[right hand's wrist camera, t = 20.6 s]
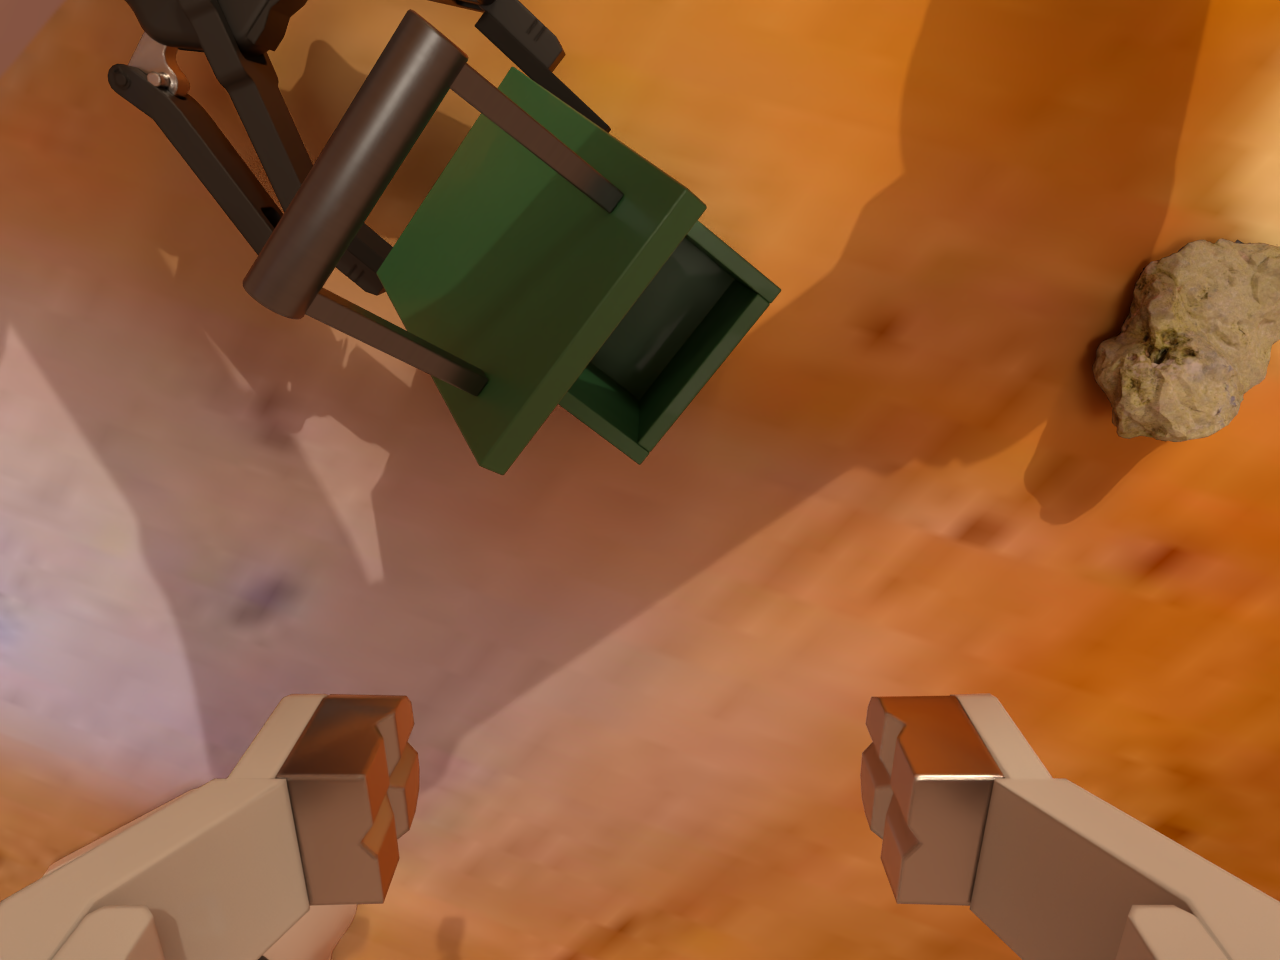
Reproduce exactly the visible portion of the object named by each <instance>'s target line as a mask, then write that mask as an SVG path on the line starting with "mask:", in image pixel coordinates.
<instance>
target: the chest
mask: <svg viewBox="0 0 1280 960" xmlns="http://www.w3.org/2000/svg"><path fill="white" fill-rule="evenodd" d="M780 292H781V289H780V288H779V287H778V286H776V285H775V284H774V283H773V282H772V281H770V280H769V279H768V278H767V277H766V276H764V275H763V274H762V273H761V272H759V271H758V270H757V269H756V268H755V267H753V266H752V265H751V264H750V263H749V262H747V261H746V260H745V259H744V258H743V257H741V256H740V255H739V254H738V253H737V252H735V251H734V250H733V249H732V248H730V247H729V246H728V245H727V244H726V243H724V242H723V241H722V240H721V239H720V238H718V237H717V236H716V235H715V234H714V233H712V232H711V231H710V230H709V229H707V228H706V227H705V226H704V225H703V224H701V223H700V222H699V221H698V220H697V222H696V223H695V224H694V226H693V227H692V228H691V230H690V231H689V232H688V233H687V235H686V236H685V237H684V239H683V240H682V241H681V243H680V244H679V245H678V247H677V248H676V249H675V251H674V252H673V253H672V255H671V256H670V257H669V258H668V260H667V261H666V262H665V264H664V265H663V266H662V268H661V269H660V270H659V272H658V273H657V274H656V276H655V277H654V278H653V280H652V281H651V282H650V283H649V285H648V286H647V287H646V289H645V290H644V291H643V293H642V294H641V295H640V297H639V298H638V299H637V301H636V302H635V303H634V304H633V306H632V307H631V308H630V310H629V311H628V312H627V314H626V315H625V316H624V318H623V319H622V320H621V322H620V323H619V324H618V326H617V327H616V328H615V329H614V331H613V332H612V333H611V335H610V336H609V337H608V339H607V340H606V341H605V343H604V344H603V345H602V347H601V348H600V349H599V351H598V352H597V353H596V354H595V356H594V357H593V358H592V360H591V361H590V362H589V364H588V365H587V366H586V368H585V369H584V370H583V372H582V373H581V374H580V376H579V377H578V378H577V379H576V381H575V382H574V383H573V385H572V386H571V387H570V389H569V390H568V391H567V393H566V394H565V395H564V397H563V398H562V399H561V401H560V402H559V403H558V404H559V405H560V406H562V407H563V408H564V409H566V410H567V411H568V412H570V413H571V414H572V415H574V416H575V417H576V418H578V419H579V420H580V421H582V422H583V423H584V424H586V425H587V426H588V427H590V428H591V429H592V430H594V431H595V432H596V433H598V434H599V435H600V436H602V437H603V438H604V439H606V440H607V441H608V442H610V443H611V444H612V445H614V446H615V447H616V448H618V449H619V450H620V451H622V452H623V453H624V454H626V455H627V456H628V457H630V458H631V459H632V460H634V461H635V462H636V463H638V464H639V465H640V464H641V463H642V462H643V461H644V459H645V458H646V457H647V456H648V455H649V452H651V451H652V449H653V448H654V447H655V446H656V444H657V443H658V442H659V441H660V440H661V438H662V437H663V436H664V435H665V433H666V432H667V431H668V430H669V428H670V427H671V426H672V425H673V423H674V422H675V421H676V420H677V419H678V417H679V416H680V415H681V414H682V412H683V411H684V410H685V409H686V407H687V406H688V405H689V404H690V403H691V401H692V400H693V399H694V398H695V396H696V395H697V394H698V393H699V391H700V390H701V389H702V388H703V386H704V385H705V384H706V383H707V382H708V380H709V379H710V378H711V377H712V375H713V374H714V373H715V372H716V370H717V369H718V368H719V367H720V365H721V364H722V363H723V362H724V361H725V359H726V358H727V357H728V356H729V354H730V353H731V352H732V351H733V349H734V348H735V347H736V346H737V345H738V343H739V342H740V341H741V340H742V338H743V337H744V336H745V335H746V333H747V332H748V331H749V330H750V328H751V327H752V326H753V325H754V324H755V322H756V321H757V320H758V319H759V317H760V316H761V315H762V314H763V312H764V311H765V310H766V309H767V308H768V306H769V304H770V303H772V302H773V300H774V299H775V298H776V297H777V295H778V294H779V293H780Z"/></svg>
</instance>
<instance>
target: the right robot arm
mask: <svg viewBox="0 0 1280 960" xmlns="http://www.w3.org/2000/svg"><path fill="white" fill-rule="evenodd" d="M413 726H414V718H413V712H412V705H411V701H410V700H409V699H408V697H407V696H394V695H348V694H330V695H327V694H291V695H288V696H286V697H284V698H283V699H282V700H281V701H280V702H279V704H278V705H277V707H276V708H275V710H274V711H273V712H272V714H271V715H270V717H269V718H268V720H267V721H266V723H265V724H264V725H263V727H262V728H261V730H260V731H259V733H258V734H257V736H256V737H255V738H254V740H253V741H252V743H251V744H250V746H249V747H248V749H247V750H246V752H245V753H244V754H243V756H242V757H241V759H240V760H239V762H238V763H237V765H236V766H235V767H234V769H233V770H232V772H231V773H230V775H229V776H228V778H227V779H213V780H211V781H210V782H208V783H206V784H204V785H203V786H201V787H199V788H196V789H192V790H190V791H188V792H186V793H184V794H182V795H180V796H178V797H176V798H175V799H173V800H171V801H169V802H167V803H165V804H163V805H161V806H159V807H158V808H156V809H154V810H152V811H150V812H148V813H146V814H144V815H143V816H141V817H139V818H137V819H135V820H133V821H131V822H129V823H127V824H126V825H124V826H122V827H120V828H118V829H116V830H114V831H112V832H111V833H109V834H107V835H105V836H103V837H101V838H99V839H97V840H95V841H94V842H92V843H90V844H88V845H86V846H84V847H82V848H80V849H79V850H77V851H75V852H73V853H71V854H69V855H67V856H65V857H64V858H62V859H60V860H58V861H56V862H54V863H53V864H52V865H50V866H49V868H48V869H47V871H46V872H45V874H44V875H43V877H42V878H41V879H39V880H37V881H35V882H34V883H32V884H30V885H28V886H27V887H25V888H23V889H21V890H20V891H18V892H16V893H14V894H13V895H11V896H9V897H7V898H6V899H4V900H2V901H1V902H0V960H331V956H332V951H333V949H334V948H335V946H336V945H337V943H338V942H339V940H340V939H341V937H342V936H343V935H344V933H345V932H346V930H347V929H348V928H349V926H350V924H351V922H352V920H353V918H354V916H355V913H356V908H357V904H380V903H384V900H385V897H386V894H387V891H388V889H389V886H390V883H391V880H392V878H393V875H394V872H395V869H396V866H397V864H398V861H399V851H398V843H397V839H399V838H400V837H401V836H402V835H404V834H405V833H406V832H407V831H409V830H410V827H411V824H412V821H413V817H414V814H415V811H416V805H417V799H418V792H419V760H418V753H417V752H416V751H415V750H414V749H413V747H412V746H411V745H410V744H409V743H408V742H407V741H408V739H409V736H410V734H411V731H412V729H413ZM866 726H867V728H868V731H869V733H870V736H871V738H872V741H873V742H872V743H871V744H870V745H869V746H868V747H867V749H866V750H865V751H864V752H863V753H862V763H861V775H860V776H861V792H862V801H863V805H864V810H865V815H866V818H867V820H868V823H869V826H870V829H871V831H873V832H874V833H875V834H876V835H878V836H879V837H880V838H881V839H883V843H882V851H881V861H882V863H883V866H884V869H885V872H886V875H887V877H888V880H889V883H890V886H891V888H892V891H893V894H894V897H895V899H896V902H897V903H898V904H933V905H968V906H970V910H971V911H972V912H973V913H974V914H975V915H976V916H978V917H979V918H980V919H981V920H982V921H983V922H984V923H985V924H986V925H987V926H988V927H989V928H990V929H991V930H992V931H993V932H994V933H995V934H996V935H997V936H998V937H999V938H1001V939H1002V940H1003V941H1004V942H1005V943H1006V944H1007V945H1008V946H1009V947H1010V948H1011V949H1012V950H1013V951H1014V952H1015V953H1016V954H1017V955H1018V956H1019V957H1020V958H1021V959H1022V960H1280V902H1279V901H1277V900H1275V899H1274V898H1272V897H1270V896H1268V895H1267V894H1265V893H1263V892H1262V891H1260V890H1258V889H1256V888H1255V887H1253V886H1251V885H1249V884H1248V883H1246V882H1244V881H1242V880H1241V879H1239V878H1237V877H1235V876H1234V875H1232V874H1230V873H1229V872H1227V871H1225V870H1223V869H1222V868H1220V867H1218V866H1216V865H1215V864H1213V863H1211V862H1209V861H1208V860H1206V859H1204V858H1202V857H1201V856H1199V855H1197V854H1196V853H1194V852H1192V851H1190V850H1189V849H1187V848H1185V847H1183V846H1182V845H1180V844H1178V843H1176V842H1175V841H1173V840H1171V839H1169V838H1168V837H1166V836H1164V835H1163V834H1161V833H1159V832H1157V831H1156V830H1154V829H1152V828H1150V827H1149V826H1147V825H1145V824H1143V823H1142V822H1140V821H1138V820H1136V819H1135V818H1133V817H1131V816H1130V815H1128V814H1126V813H1124V812H1123V811H1121V810H1119V809H1117V808H1116V807H1114V806H1112V805H1110V804H1109V803H1107V802H1105V801H1103V800H1102V799H1100V798H1098V797H1097V796H1095V795H1093V794H1091V793H1090V792H1088V791H1086V790H1084V789H1083V788H1081V787H1079V786H1077V785H1076V784H1074V783H1072V782H1070V781H1069V780H1067V779H1053V778H1052V776H1051V775H1050V773H1049V772H1048V770H1047V769H1046V768H1045V766H1044V765H1043V763H1042V762H1041V760H1040V759H1039V757H1038V756H1037V755H1036V753H1035V752H1034V750H1033V749H1032V747H1031V746H1030V745H1029V743H1028V742H1027V740H1026V739H1025V737H1024V736H1023V735H1022V733H1021V732H1020V730H1019V729H1018V727H1017V726H1016V725H1015V723H1014V722H1013V720H1012V719H1011V717H1010V716H1009V714H1008V713H1007V712H1006V710H1005V709H1004V707H1003V706H1002V704H1001V703H1000V702H999V700H998V699H997V698H996V697H995V696H993V695H991V694H989V693H988V694H957V695H950V696H888V697H871V700H870V703H869V705H868V710H867V718H866Z"/></svg>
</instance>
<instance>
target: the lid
mask: <svg viewBox="0 0 1280 960" xmlns="http://www.w3.org/2000/svg"><path fill="white" fill-rule="evenodd" d="M467 61H468V56H467V55H466V54H465V53H464V52H463V51H462V50H461V49H460V48H459V47H457V46H456V45H455V44H454V43H453V42H451V41H450V40H449V39H448V38H447V37H445V36H444V35H443V34H442V33H441V32H439V31H438V30H437V29H436V28H435V27H433V26H432V25H431V24H430V23H428V22H427V21H426V20H425V19H424V18H422V17H421V16H420V15H419V14H417V13H416V12H415V11H413V10H411V9H410V10H408V11H407V13H406V15H405V16H404V18H403V20H402V21H401V23H400V24H399V26H398V28H397V29H396V31H395V33H394V34H393V36H392V38H391V39H390V41H389V42H388V44H387V46H386V47H385V49H384V51H383V52H382V54H381V56H380V57H379V59H378V60H377V62H376V64H375V65H374V67H373V69H372V70H371V72H370V74H369V75H368V77H367V78H366V80H365V82H364V83H363V85H362V87H361V88H360V90H359V92H358V93H357V95H356V96H355V98H354V100H353V101H352V103H351V105H350V106H349V108H348V110H347V111H346V113H345V115H344V116H343V118H342V119H341V121H340V123H339V124H338V126H337V128H336V129H335V131H334V133H333V134H332V136H331V137H330V139H329V141H328V142H327V144H326V146H325V147H324V149H323V151H322V152H321V154H320V155H319V157H318V159H317V160H316V162H315V164H314V165H313V167H312V169H311V170H310V172H309V173H308V175H307V177H306V178H305V180H304V182H303V183H302V185H301V187H300V188H299V190H298V191H297V193H296V195H295V196H294V198H293V200H292V201H291V203H290V205H289V206H288V208H287V209H286V211H285V213H284V214H283V216H282V218H281V219H280V221H279V223H278V224H277V226H276V227H275V229H274V231H273V232H272V234H271V236H270V237H269V239H268V241H267V242H266V244H265V246H264V247H263V249H262V250H261V252H260V254H259V255H258V257H257V259H256V260H255V262H254V264H253V265H252V267H251V268H250V270H249V272H248V273H247V275H246V277H245V278H244V280H243V287H244V289H245V290H246V291H247V293H248V294H249V295H250V296H251V297H253V298H254V299H255V300H256V301H257V302H259V303H260V304H261V305H263V306H265V307H266V308H268V309H269V310H271V311H273V312H275V313H277V314H280V315H282V316H285V317H288V318H291V319H301V318H302V317H304V315H305V314H306V315H308V316H310V317H312V318H314V319H316V320H318V321H321V322H323V323H325V324H327V325H329V326H331V327H333V328H335V329H337V330H339V331H341V332H343V333H345V334H347V335H349V336H352V337H354V338H356V339H358V340H360V341H362V342H364V343H366V344H368V345H370V346H372V347H374V348H376V349H378V350H380V351H383V352H385V353H387V354H389V355H391V356H393V357H395V358H397V359H399V360H401V361H403V362H405V363H407V364H409V365H411V366H414V367H416V368H418V369H420V370H422V371H424V372H426V373H428V374H430V375H431V376H432V378H433V380H434V382H435V384H436V386H437V388H438V390H439V391H440V393H441V395H442V397H443V399H444V401H445V403H446V404H447V406H448V408H449V410H450V412H451V414H452V416H453V418H454V419H455V421H456V423H457V425H458V427H459V429H460V431H461V432H462V434H463V436H464V438H465V440H466V442H467V444H468V446H469V447H470V449H471V451H472V453H473V455H474V457H475V459H476V460H477V462H478V464H479V466H481V467H484V468H486V469H488V470H491V471H493V472H496V473H498V474H501V475H504V474H505V473H506V472H507V470H508V469H509V468H510V466H511V465H512V464H513V462H514V461H515V460H516V458H517V457H518V456H519V454H520V453H521V452H522V451H523V449H524V448H525V447H526V445H527V444H528V443H529V441H530V440H531V439H532V437H533V436H534V435H535V433H536V432H537V431H538V429H539V428H540V427H541V426H542V424H543V423H544V422H545V420H546V419H547V418H548V416H549V415H550V414H551V412H552V411H553V410H554V408H555V407H556V406H557V404H558V403H559V402H560V401H561V399H562V398H563V397H564V395H565V394H566V393H567V391H568V390H569V389H570V387H571V386H572V385H573V383H574V382H575V381H576V379H577V378H578V377H579V376H580V374H581V373H582V372H583V370H584V369H585V368H586V366H587V365H588V364H589V362H590V361H591V360H592V358H593V357H594V356H595V354H596V353H597V352H598V351H599V349H600V348H601V347H602V345H603V344H604V343H605V341H606V340H607V339H608V337H609V336H610V335H611V333H612V332H613V331H614V329H615V328H616V327H617V326H618V324H619V323H620V322H621V320H622V319H623V318H624V316H625V315H626V314H627V312H628V311H629V310H630V308H631V307H632V306H633V304H634V303H635V302H636V301H637V299H638V298H639V297H640V295H641V294H642V293H643V291H644V290H645V289H646V287H647V286H648V285H649V283H650V282H651V281H652V280H653V278H654V277H655V276H656V274H657V273H658V272H659V270H660V269H661V268H662V266H663V265H664V264H665V262H666V261H667V260H668V258H669V257H670V256H671V255H672V253H673V252H674V251H675V249H676V248H677V247H678V245H679V244H680V243H681V241H682V240H683V239H684V237H685V236H686V235H687V233H688V232H689V231H690V230H691V228H692V227H693V226H694V224H695V223H696V222H697V220H698V219H699V218H700V216H701V215H702V214H703V212H704V211H705V210H706V208H707V207H706V205H705V204H704V203H703V202H702V201H701V200H700V199H699V198H698V197H697V196H695V195H694V194H693V193H692V192H691V191H690V190H689V189H688V188H686V187H685V186H684V185H682V184H681V183H679V182H678V181H676V180H675V179H673V178H672V177H671V176H669V175H668V174H666V173H665V172H663V171H662V170H661V169H659V168H658V167H656V166H655V165H653V164H652V163H651V162H649V161H648V160H646V159H645V158H643V157H642V156H641V155H639V154H638V153H636V152H635V151H633V150H632V149H630V148H629V147H628V146H626V145H625V144H623V143H622V142H620V141H619V140H618V139H616V138H615V137H613V136H612V135H610V134H609V133H608V132H606V131H605V130H603V129H602V128H600V127H599V126H598V125H596V124H595V123H593V122H592V121H590V120H589V119H587V118H586V117H585V116H583V115H582V114H580V113H579V112H577V111H576V110H575V109H573V108H572V107H570V106H569V105H567V104H566V103H565V102H563V101H562V100H560V99H559V98H557V97H556V96H555V95H553V94H552V93H550V92H549V91H547V90H546V89H544V88H543V87H542V86H540V85H539V84H537V83H536V82H534V81H533V80H532V79H530V78H529V77H527V76H526V75H524V74H523V73H522V72H520V71H519V70H517V69H516V68H514V67H511V69H510V70H509V72H508V73H507V75H506V76H505V78H504V79H503V81H502V82H501V84H500V85H499V87H498V89H497V88H496V87H495V86H494V85H492V84H491V83H490V82H489V81H488V80H486V79H485V78H484V77H483V76H482V75H480V74H479V73H478V72H477V71H476V70H474V69H473V68H472V67H471V66H469V65H468V64H467V63H466V62H467ZM449 89H452V90H453V91H454V92H455V93H457V94H458V95H459V96H460V97H462V98H463V99H464V100H465V101H467V102H468V103H469V104H471V105H472V106H473V107H474V108H476V109H477V110H478V111H479V112H481V114H480V116H479V117H478V119H477V120H476V122H475V123H474V125H473V127H472V128H471V130H470V131H469V133H468V134H467V136H466V137H465V139H464V140H463V142H462V143H461V145H460V146H459V148H458V149H457V151H456V152H455V154H454V155H453V157H452V158H451V160H450V162H449V163H448V165H447V166H446V168H445V169H444V171H443V172H442V174H441V175H440V177H439V178H438V180H437V181H436V183H435V184H434V186H433V187H432V189H431V190H430V192H429V193H428V195H427V196H426V198H425V200H424V201H423V203H422V204H421V206H420V207H419V209H418V210H417V212H416V213H415V215H414V216H413V218H412V219H411V221H410V222H409V224H408V225H407V227H406V228H405V230H404V231H403V233H402V235H401V236H400V238H399V239H398V241H397V242H396V244H395V245H394V247H393V248H392V250H391V251H390V253H389V254H388V256H387V257H386V259H385V260H384V262H383V263H382V265H381V266H380V268H379V269H378V271H377V273H376V274H377V276H378V278H379V279H380V281H381V283H382V285H383V287H384V289H385V291H386V292H387V294H388V296H389V298H390V300H391V302H392V304H393V306H394V307H395V309H396V311H397V313H398V315H399V317H400V319H401V320H402V322H403V324H404V326H405V328H406V330H407V331H406V330H404V329H402V328H400V327H398V326H396V325H394V324H392V323H390V322H388V321H386V320H384V319H382V318H381V317H379V316H377V315H375V314H373V313H371V312H369V311H367V310H365V309H363V308H361V307H359V306H357V305H355V304H353V303H351V302H349V301H348V300H346V299H344V298H342V297H340V296H338V295H336V294H334V293H332V292H330V291H328V290H326V289H324V288H322V287H323V285H324V284H325V282H326V281H327V279H328V278H329V276H330V274H331V273H332V271H333V270H334V268H335V267H336V265H337V264H338V262H339V260H340V259H341V257H342V256H343V254H344V253H345V251H346V250H347V248H348V246H349V245H350V243H351V242H352V240H353V239H354V237H355V235H356V234H357V232H358V231H359V229H360V228H361V226H362V225H363V223H364V221H365V220H366V218H367V217H368V215H369V214H370V212H371V211H372V209H373V207H374V206H375V204H376V203H377V201H378V200H379V198H380V196H381V195H382V193H383V192H384V190H385V189H386V187H387V186H388V184H389V182H390V181H391V179H392V178H393V176H394V175H395V173H396V172H397V170H398V168H399V167H400V165H401V164H402V162H403V161H404V159H405V158H406V156H407V154H408V153H409V151H410V150H411V148H412V147H413V145H414V143H415V142H416V140H417V139H418V137H419V136H420V134H421V133H422V131H423V129H424V128H425V126H426V125H427V123H428V122H429V120H430V119H431V117H432V115H433V114H434V112H435V111H436V109H437V108H438V106H439V104H440V103H441V101H442V100H443V98H444V97H445V95H446V94H447V92H448V90H449Z"/></svg>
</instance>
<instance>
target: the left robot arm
mask: <svg viewBox="0 0 1280 960" xmlns="http://www.w3.org/2000/svg"><path fill="white" fill-rule="evenodd" d="M125 1H126V2H127V3H128V4H129V6H130V7H131V8H132V10H133V11H134V13H135V15H136V17H137V19H138V21H139V23H140V25H141V27H142V28H143V30H144V31H145V32H144V34H143V36H142V38H141V40H140V42H139V44H138V46H137V48H136V50H135V52H134V54H133V56H132V58H131V60H130V62H129V64H128V65H124V64H116V65H113V66H112V67H111V68H110V69H109V72H108V81H109V84H110V86H111V88H112V89H113V90H114V91H115V92H116V93H118V94H119V95H120V96H122V97H123V98H125V99H126V100H127V101H129V102H130V103H131V104H133V105H134V106H136V107H137V108H138V109H140V110H141V111H142V112H144V113H145V114H147V115H148V116H149V117H151V118H152V119H153V120H154V121H155V122H156V124H157V125H158V126H159V127H160V129H161V130H162V131H163V133H164V134H165V135H166V137H167V138H168V139H169V140H170V142H171V143H172V144H173V146H174V147H175V148H176V149H177V151H178V152H179V153H180V155H181V156H182V157H183V159H184V160H185V161H186V162H187V164H188V165H189V166H190V168H191V169H192V170H193V172H194V173H195V174H196V175H197V177H198V178H199V179H200V181H201V182H202V183H203V184H204V186H205V187H206V188H207V190H208V191H209V192H210V194H211V195H212V196H213V197H214V199H215V200H216V201H217V203H218V204H219V205H220V206H221V208H222V209H223V210H224V212H225V213H226V214H227V216H228V217H229V218H230V219H231V221H232V222H233V223H234V225H235V226H236V227H237V229H238V230H239V231H240V232H241V234H242V235H243V236H244V238H245V239H246V240H247V241H248V243H249V244H250V245H251V247H252V248H253V249H254V251H255V252H256V253H257V254H258V255H259V254H260V252H261V250H262V249H263V247H264V246H265V244H266V242H267V241H268V239H269V237H270V236H271V234H272V232H273V231H274V229H275V227H276V226H277V224H278V223H279V221H280V219H281V218H282V216H283V213H282V212H281V210H280V209H279V208H278V206H277V205H276V204H275V202H274V201H273V200H272V198H271V197H270V196H269V194H268V193H267V192H266V190H265V189H264V188H263V186H262V185H261V184H260V182H259V181H258V180H257V178H256V177H255V176H254V174H253V173H252V172H251V170H250V169H249V168H248V166H247V165H246V164H245V162H244V161H243V160H242V158H241V157H240V156H239V154H238V153H237V152H236V150H235V149H234V148H233V146H232V145H231V144H230V142H229V141H228V140H227V138H226V137H225V136H224V134H223V133H222V132H221V130H220V129H219V128H218V126H217V125H216V124H215V122H214V121H213V120H212V118H211V117H210V116H209V115H208V113H207V112H206V111H205V110H204V108H203V107H202V106H201V105H200V104H199V103H198V102H197V101H196V100H195V99H193V98H192V97H191V96H190V95H189V94H187V92H188V91H189V89H190V83H189V82H188V80H187V78H186V76H185V75H184V74H183V72H182V71H181V70H180V69H179V67H178V65H177V62H176V54H177V51H178V49H179V50H187V51H197V52H205V55H206V57H207V59H208V61H209V63H210V65H211V67H212V70H213V72H214V74H215V76H216V78H217V79H218V81H219V82H220V84H221V85H222V86H223V87H224V88H225V89H226V90H227V91H228V93H229V95H230V97H231V99H232V101H233V103H234V105H235V108H236V110H237V112H238V114H239V116H240V118H241V120H242V123H243V125H244V127H245V129H246V131H247V133H248V135H249V138H250V140H251V142H252V144H253V146H254V148H255V150H256V153H257V155H258V157H259V159H260V161H261V163H262V165H263V168H264V170H265V172H266V174H267V176H268V178H269V180H270V183H271V185H272V187H273V189H274V191H275V193H276V195H277V198H278V200H279V202H280V204H281V206H282V208H283V210H284V213H285V211H286V209H287V208H288V206H289V205H290V203H291V201H292V200H293V198H294V196H295V195H296V193H297V191H298V190H299V188H300V187H301V185H302V183H303V182H304V180H305V178H306V177H307V175H308V173H309V172H310V170H311V169H312V167H313V165H312V162H311V160H310V158H309V156H308V153H307V151H306V149H305V147H304V144H303V142H302V140H301V138H300V135H299V133H298V131H297V129H296V127H295V124H294V122H293V120H292V118H291V115H290V113H289V111H288V109H287V106H286V104H285V102H284V100H283V97H282V95H281V93H280V91H279V88H278V77H277V75H276V72H275V70H274V68H273V66H272V63H271V61H270V59H269V57H268V54H267V51H268V50H272V51H275V50H276V48H277V47H278V45H279V44H280V42H281V41H282V39H283V37H284V35H285V32H286V29H287V25H288V22H289V19H290V17H291V16H292V15H293V14H294V13H296V12H297V11H298V10H299V9H300V8H302V7H303V6H304V5H305V3H306V2H307V0H125ZM429 1H434V2H438V3H443V4H447V5H451V6H456V7H460V8H465V9H469V10H474V11H478V12H483V15H482V16H481V18H480V19H479V20H478V22H477V23H476V25H475V27H476V28H477V29H478V30H479V31H480V32H481V33H482V34H484V35H485V36H486V37H487V38H488V39H489V40H490V41H491V42H492V43H493V44H494V45H495V46H496V47H497V48H499V49H500V50H501V51H502V52H503V53H504V54H505V55H506V56H507V57H508V58H509V59H510V60H511V61H512V62H514V63H515V64H516V65H517V66H518V67H519V68H520V69H521V70H522V71H523V72H524V73H525V74H526V75H527V76H529V77H530V78H531V79H532V80H533V81H534V82H536V83H537V84H539V85H540V86H542V87H543V88H544V89H546V90H547V91H549V92H550V93H552V94H553V95H555V96H556V97H557V98H559V99H560V100H562V101H563V102H565V103H566V104H567V105H569V106H570V107H572V108H573V109H575V110H576V111H577V112H579V113H580V114H582V115H583V116H585V117H586V118H587V119H589V120H590V121H592V122H593V123H595V124H596V125H598V126H599V127H600V128H602V129H603V130H605V131H606V132H608V133H609V132H610V130H611V129H610V127H609V126H608V125H607V124H606V123H605V122H604V121H603V120H602V119H601V118H600V117H599V116H597V115H596V114H595V113H594V112H593V111H592V110H591V109H590V108H589V107H588V106H587V105H586V104H585V103H584V102H583V101H582V100H581V99H579V98H578V97H577V96H576V95H575V94H574V93H573V92H572V91H571V90H570V89H569V88H568V87H567V86H566V85H565V84H564V83H563V82H561V81H560V80H559V79H558V78H557V77H556V76H555V75H554V74H553V73H552V72H553V71H554V69H555V68H556V67H557V65H558V64H559V63H560V61H561V60H562V59H563V57H564V56H565V53H564V50H563V48H562V46H561V44H560V42H559V41H558V39H557V37H556V36H555V35H554V34H553V33H552V32H551V31H550V30H549V29H548V28H546V27H545V26H544V25H543V24H542V23H541V22H540V21H539V20H538V19H537V18H536V17H535V16H534V15H533V14H532V13H531V12H530V11H529V10H528V9H527V8H526V7H525V6H524V5H522V4H521V3H520V2H519V1H518V0H429ZM392 248H393V247H392V246H391V245H390V244H388V243H387V242H386V241H385V240H384V239H383V238H381V237H380V236H379V235H378V234H377V233H375V232H374V231H373V230H372V229H371V228H369V227H368V226H367V225H366V224H365V223H363V225H362V226H361V228H360V229H359V231H358V232H357V234H356V235H355V237H354V239H353V240H352V242H351V243H350V245H349V246H348V248H347V250H346V251H345V253H344V254H343V256H342V257H341V259H340V260H339V262H338V264H337V265H336V268H337V269H338V270H340V271H341V272H342V273H343V274H345V275H346V276H347V277H348V278H349V279H351V280H352V281H353V282H355V283H356V284H357V285H358V286H359V287H361V288H362V289H363V290H364V291H365V292H368V293H371V294H374V295H380V294H382V293H384V292H386V291H385V289H384V287H383V285H382V283H381V281H380V279H379V278H378V276H377V274H376V273H377V271H378V269H379V268H380V266H381V265H382V263H383V262H384V260H385V259H386V257H387V256H388V254H389V253H390V251H391V250H392Z"/></svg>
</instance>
